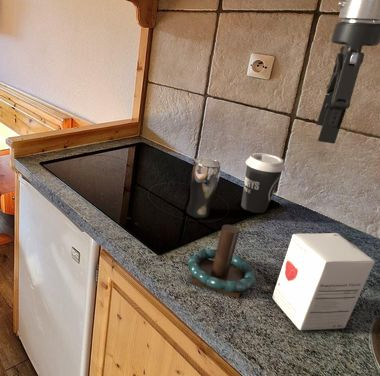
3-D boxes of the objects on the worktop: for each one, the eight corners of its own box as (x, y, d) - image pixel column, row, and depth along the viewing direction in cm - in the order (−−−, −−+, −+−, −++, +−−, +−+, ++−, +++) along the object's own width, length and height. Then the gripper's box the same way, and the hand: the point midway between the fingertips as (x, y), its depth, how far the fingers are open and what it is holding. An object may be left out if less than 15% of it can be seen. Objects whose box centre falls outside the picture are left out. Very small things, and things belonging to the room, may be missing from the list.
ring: (256, 266, 87) (258, 258, 86) (252, 301, 77) (254, 293, 76) (194, 249, 93) (195, 241, 92) (182, 280, 82) (184, 272, 81)
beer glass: (178, 209, 113) (188, 159, 106) (197, 204, 116) (207, 155, 109) (197, 221, 107) (208, 168, 101) (216, 215, 110) (228, 164, 104)
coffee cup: (244, 197, 121) (257, 149, 115) (278, 208, 115) (292, 159, 108) (229, 206, 115) (240, 156, 109) (262, 219, 109) (277, 167, 103)
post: (244, 274, 86) (258, 225, 81) (238, 298, 79) (253, 246, 74) (200, 261, 90) (211, 213, 85) (191, 283, 83) (202, 232, 78)
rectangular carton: (269, 297, 80) (290, 232, 74) (312, 296, 81) (337, 231, 74) (298, 331, 72) (325, 261, 65) (346, 329, 72) (377, 260, 66)
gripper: (333, 18, 86) (304, 117, 95) (341, 22, 66) (303, 146, 75) (377, 20, 82) (342, 122, 91) (399, 25, 63) (352, 154, 72)
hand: (324, 133), depth 83 cm, fingers open, 13 cm apart
